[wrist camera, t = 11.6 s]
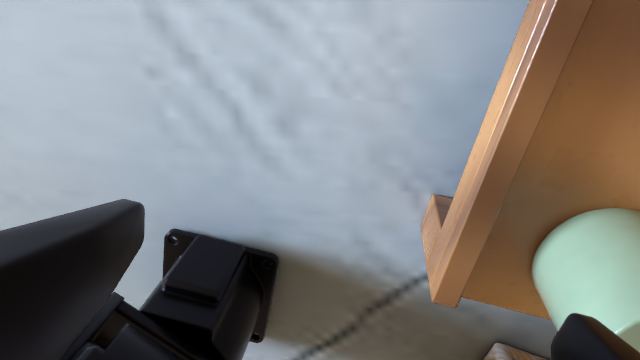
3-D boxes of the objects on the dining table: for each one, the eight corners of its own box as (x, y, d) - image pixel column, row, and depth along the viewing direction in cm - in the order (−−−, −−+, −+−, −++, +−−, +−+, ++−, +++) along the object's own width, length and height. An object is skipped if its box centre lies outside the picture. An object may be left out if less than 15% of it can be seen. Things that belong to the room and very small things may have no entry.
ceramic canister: (632, 328, 16) (725, 456, 12) (510, 297, 17) (557, 412, 12) (704, 225, 14) (850, 333, 10) (565, 192, 15) (645, 283, 10)
